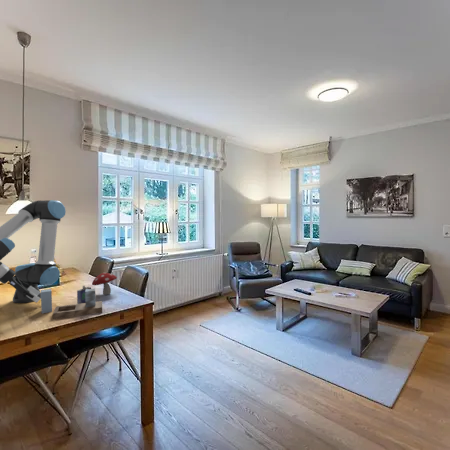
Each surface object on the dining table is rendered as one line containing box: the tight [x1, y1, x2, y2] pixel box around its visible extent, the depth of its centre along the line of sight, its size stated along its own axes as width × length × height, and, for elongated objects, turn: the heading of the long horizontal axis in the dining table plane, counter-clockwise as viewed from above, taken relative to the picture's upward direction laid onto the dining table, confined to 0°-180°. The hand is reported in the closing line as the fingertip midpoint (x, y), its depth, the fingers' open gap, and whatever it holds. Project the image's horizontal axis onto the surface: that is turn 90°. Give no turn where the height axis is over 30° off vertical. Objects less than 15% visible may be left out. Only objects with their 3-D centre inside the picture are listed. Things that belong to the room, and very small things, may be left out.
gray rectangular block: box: [40, 288, 53, 314], centre depth 161 cm, size 5×5×12 cm
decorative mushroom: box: [91, 272, 118, 295], centre depth 194 cm, size 16×16×15 cm
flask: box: [76, 285, 92, 304], centre depth 176 cm, size 9×3×11 cm, turn 151°
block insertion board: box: [52, 288, 103, 320], centre depth 160 cm, size 24×12×12 cm, turn 114°
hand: (38, 297), depth 158 cm, fingers open, 13 cm apart
